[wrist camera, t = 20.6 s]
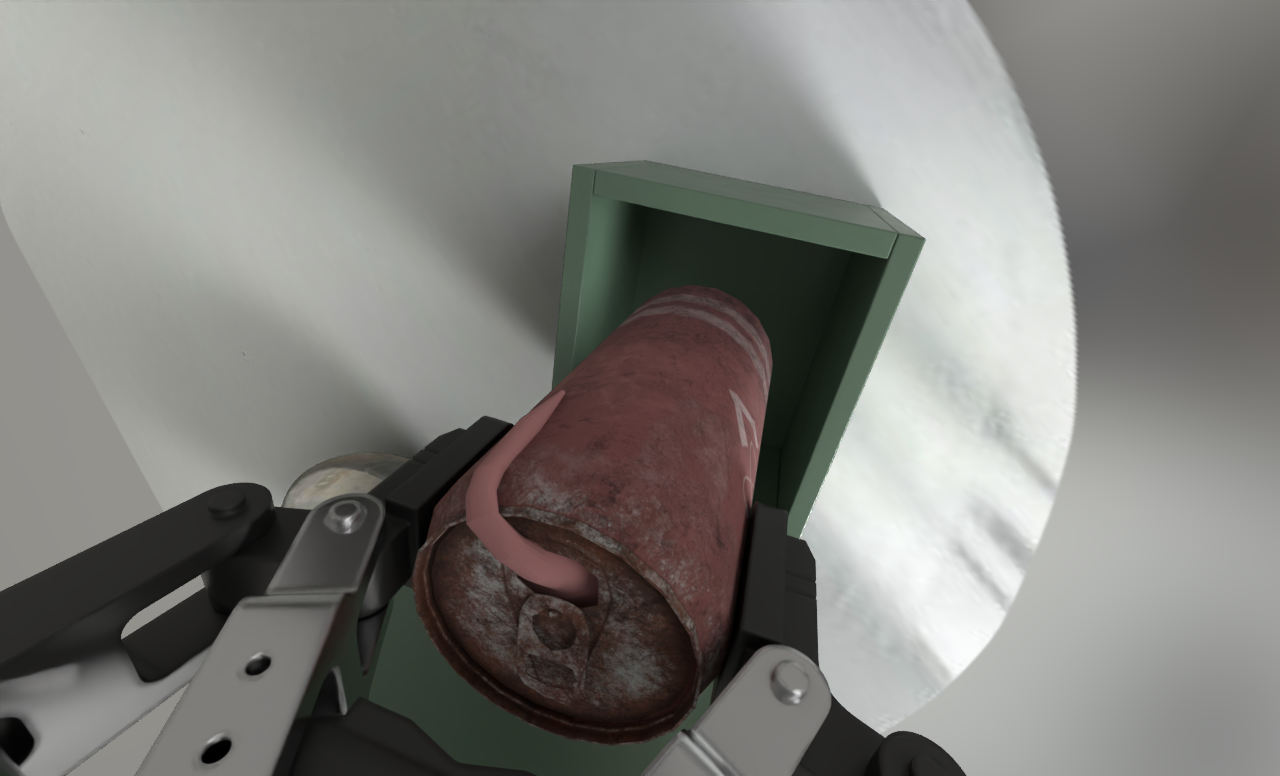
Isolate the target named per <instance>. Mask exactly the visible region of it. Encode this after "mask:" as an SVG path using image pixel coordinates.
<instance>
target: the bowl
mask: <svg viewBox="0 0 1280 776" xmlns="http://www.w3.org/2000/svg"><path fill="white" fill-rule="evenodd" d="M408 460H412V459H409V458H405V457H401V456H397V455H391V454H384V453H374V452H368V453H354V454H349V455H344V456H339V457H336V458H333V459H329V460H327V461H324V462H322V463H319V464H317V465H315V466H314V467H312V468H310V469H309V470H307V471H306V472H304V473H303V474H302V475H300V476H299V477H298V479H297V480H295V481H294V483H293V484H292V486H291V487H290V489H289V490H288V492H287V494H286V496H285V498H284V501H283V504H282V507H284V508H297V509H310V510H313V509H314V508H315V507H316V506H317V505H319V504H320V503H322V502H324V501H325V500H328V499H330V498H332V497H335V496H339V495H343V494H349V493H363V494H367V493H368V492H369V491H371V490H372V489H373V488H374V487H376V486H377V485H378V484H379V483H381V482H382V481H383V480H384V479H386V478H387V477H388V476H390V475H391V474H392V473H393V472H395V471H396V470H397V469H398V468H400V467H401V466H402V465H403V464H405V463H406V462H407V461H408Z"/></svg>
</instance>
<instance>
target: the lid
mask: <svg viewBox="0 0 1280 776" xmlns="http://www.w3.org/2000/svg"><path fill="white" fill-rule="evenodd" d="M393 599H394V605H393V610H392V613H391V617H390V620H389V624H388V627H387V631H386V634H385V638H384V641H383V645H382V648H381V652H380V655H379V659H378V662H377V666H376V669H375V673H374V676H373V680H372V683H371V687H370V692H369V699H368V700H369V701H371V702H373V703H376V704H378V705H380V706H382V707H385V708H387V709H389V710H391V711H394V712H396V713H398V714H400V715H403V716H405V717H407V718H409V719H411V720H413V721H414V722H415V723H416V724H417V725H418V726H419V727H420V728H421V729H422V730H423V731H424V732H425V733H426V734H427V735H428V736H429V737H430V738H432V739H433V740H434V741H435V742H436V743H437V744H438V745H439V746H440V747H441V748H442V749H443V750H444V751H445V752H446V753H447V754H448V755H449V756H451V757H452V758H453V759H454V760H455V761H457V762H460V763H464V764H472V765H481V766H490V767H498V768H507V769H516V770H524V771H528V772H530V773H532V774H535V775H537V776H640V775H641V774H642V773H643V771H644V770H645V769H646V768H647V767H648V766H649V764H650V763H651V762H652V761H653V760H654V759H655V758H656V756H657V755H658V754H659V753H660V752H661V751H662V749H663V748H664V747H665V746H666V745H667V744H668V742H669V741H670V740H671V739H672V738H673V737H674V736H675V735H676V734H677V733H678V732H679V731H681V730H682V729H686V730H687V731H688V730H689V729H691V728H692V727H693V726H694V725H695V723H696V722H697V721H698V720H699V719H700V718H701V716H702V715H703V714H704V713H705V712H706V710H707V709H708V708H709V707H710V701H711V695H712V689H713V683H714V680H713V681H712V682H711V683H710V685H709V686H708V687H707V688H706V689H705V690H704V691H703V692H702V694H701V695H700V696H699V697H698V700H697V705H696V708H695V709H694V710H693V711H692V712H691V714H690V715H689V716H688V717H687V718H686V719H685V720H684V721H683V722H682V724H681V725H680V726H679V727H678V728H677V729H676V730H675V731H673V732H671V733H668V734H666V735H663V736H661V737H659V738H656V739H654V740H651V741H649V742H647V743H643V744H629V745H614V746H605V745H599V744H593V743H587V742H581V741H576V740H570V739H566V738H563V737H561V736H558V735H555V734H553V733H550V732H547V731H545V730H542V729H539V728H537V727H534V726H531V725H529V724H527V723H525V722H523V721H522V720H520V719H518V718H516V717H515V716H513V715H511V714H510V713H508V712H506V711H504V710H503V709H501V708H499V707H498V706H496V705H494V704H492V703H491V702H490V701H488V700H487V699H486V698H485V697H484V696H482V695H481V694H480V693H479V692H478V691H476V690H475V689H474V688H473V687H472V686H470V685H469V684H468V683H467V682H466V681H464V680H463V679H462V678H461V677H460V676H459V675H458V674H457V673H456V672H455V671H454V669H453V668H452V667H451V666H450V665H449V663H448V662H447V661H446V660H445V658H444V657H443V656H442V655H441V654H440V652H439V651H438V650H437V649H436V648H435V646H434V645H433V643H432V641H431V639H430V637H429V635H428V633H427V631H426V629H425V628H424V626H423V624H422V622H421V620H420V618H419V616H418V614H417V610H416V605H415V599H414V593H413V589H412V588H410V587H407V586H405V585H403V586H402V587H401V589H400V590H399V591H398V592H397V593H396V594H395V595H394V596H393Z"/></svg>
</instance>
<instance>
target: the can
mask: <svg viewBox="0 0 1280 776" xmlns="http://www.w3.org/2000/svg"><path fill="white" fill-rule="evenodd" d="M772 365H773V362H772V355H771V347H770V340H769V338H768V336H767V334H766V332H765V330H764V329H763V327H762V325H761V323H760V321H759V319H758V317H756V316H755V315H754V314H753V313H752V312H751V311H750V310H749V309H748V308H747V307H746V306H745V305H744V304H743V303H742V302H741V301H740V300H738V299H736V298H734V297H732V296H730V295H728V294H726V293H724V292H722V291H720V290H718V289H716V288H709V287H703V286H696V285H687V286H681V287H675V288H669V289H666V290H664V291H662V292H660V293H658V294H657V295H655V296H653V297H651V298H649V299H647V300H646V301H645V302H644V303H643V304H642V305H641V306H640V307H639V308H637V309H636V310H635V311H634V312H633V313H632V314H631V315H630V316H629V317H628V318H627V319H626V320H625V321H624V322H623V323H622V324H621V325H620V326H619V327H618V328H617V329H616V330H614V331H613V332H612V333H611V334H610V335H609V336H608V337H607V338H606V339H605V340H604V341H603V342H602V343H601V344H600V345H599V346H598V347H597V348H596V349H595V350H594V351H593V352H591V353H590V354H589V355H588V356H587V357H586V358H585V359H584V360H583V361H582V362H581V363H580V364H579V365H578V366H577V367H576V368H575V369H574V370H573V371H572V372H571V373H570V374H568V375H567V376H566V377H565V378H564V379H563V380H562V381H561V382H560V383H559V384H558V385H557V386H556V387H555V388H554V389H553V390H552V391H551V392H550V393H549V394H548V395H547V396H545V397H544V398H543V399H542V400H541V401H540V402H539V403H538V404H537V405H536V406H535V407H534V408H533V409H532V410H531V411H530V412H529V413H528V414H527V415H525V416H524V417H522V418H521V419H520V420H519V421H518V422H517V423H516V424H515V425H514V427H513V428H512V429H511V430H510V431H509V432H508V433H507V434H506V435H505V436H504V437H503V438H502V439H500V440H499V441H498V442H497V443H496V444H495V445H494V446H493V447H492V448H491V449H490V450H489V451H488V452H487V453H486V454H485V455H484V456H483V457H482V458H481V459H480V460H479V461H477V462H476V463H475V464H474V465H473V466H472V467H471V468H470V469H469V470H468V471H467V472H466V473H465V474H464V475H463V476H462V477H461V478H460V479H459V480H458V481H457V482H456V483H455V484H454V485H453V486H452V487H451V489H450V490H449V491H448V492H447V493H446V494H445V496H444V497H443V498H442V499H441V500H440V501H439V502H438V504H437V505H436V506H435V507H434V511H433V515H432V519H431V523H430V527H429V531H428V535H427V539H426V543H425V544H424V545H423V546H422V547H421V548H420V549H419V550H418V554H417V558H416V563H415V567H414V571H413V575H412V579H411V581H412V587H413V593H414V599H415V605H416V610H417V614H418V616H419V618H420V620H421V622H422V624H423V626H424V628H425V629H426V631H427V633H428V635H429V637H430V639H431V641H432V643H433V645H434V646H435V648H436V649H437V650H438V651H439V652H440V654H441V655H442V656H443V657H444V658H445V660H446V661H447V662H448V663H449V665H450V666H451V667H452V668H453V669H454V671H455V672H456V673H457V674H458V675H459V676H460V677H461V678H462V679H463V680H464V681H466V682H467V683H468V684H469V685H470V686H472V687H473V688H474V689H475V690H476V691H478V692H479V693H480V694H481V695H482V696H484V697H485V698H486V699H487V700H488V701H490V702H491V703H492V704H494V705H496V706H498V707H499V708H501V709H503V710H504V711H506V712H508V713H510V714H511V715H513V716H515V717H516V718H518V719H520V720H522V721H523V722H525V723H527V724H529V725H531V726H534V727H537V728H539V729H542V730H545V731H547V732H550V733H553V734H555V735H558V736H561V737H563V738H566V739H570V740H576V741H581V742H587V743H593V744H599V745H605V746H614V745H629V744H643V743H647V742H649V741H651V740H654V739H656V738H659V737H661V736H663V735H666V734H668V733H671V732H673V731H675V730H676V729H677V728H678V727H679V726H680V725H681V724H682V722H683V721H684V720H685V719H686V718H687V717H688V716H689V715H690V714H691V712H692V711H693V710H694V709H695V708H696V705H697V700H698V697H699V696H700V695H701V694H702V692H703V691H704V690H705V689H706V688H707V687H708V686H709V685H710V683H711V682H712V681H713V680H714V679H715V678H716V677H717V675H718V674H719V673H720V672H721V670H722V667H723V664H724V661H725V658H726V655H727V652H728V648H729V644H730V640H731V636H732V631H733V625H734V618H735V611H736V605H737V598H738V591H739V585H740V578H741V571H742V565H743V558H744V551H745V545H746V538H747V532H748V525H749V518H750V512H751V505H752V498H753V492H754V485H755V478H756V472H757V465H758V458H759V452H760V445H761V439H762V432H763V425H764V419H765V412H766V405H767V399H768V392H769V385H770V379H771V372H772Z"/></svg>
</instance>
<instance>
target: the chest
mask: <svg viewBox="0 0 1280 776" xmlns="http://www.w3.org/2000/svg"><path fill="white" fill-rule="evenodd" d="M925 241H926V239H925V238H924V237H922V236H921V235H919V234H918V233H917V232H915V231H914V230H913V229H911V228H910V227H908V226H907V225H906V224H904V223H903V222H901V221H900V220H899V219H897V218H896V217H894V216H893V215H892V214H890V213H889V212H888V211H886V210H885V209H883V208H879V207H874V206H869V205H864V204H859V203H854V202H849V201H844V200H839V199H834V198H829V197H824V196H819V195H814V194H809V193H804V192H799V191H794V190H789V189H784V188H779V187H775V186H770V185H765V184H760V183H755V182H750V181H745V180H740V179H735V178H730V177H725V176H720V175H715V174H710V173H705V172H700V171H695V170H690V169H685V168H680V167H675V166H671V165H666V164H661V163H656V162H651V161H628V162H611V163H595V164H579V165H573V171H572V182H571V192H570V203H569V213H568V224H567V234H566V245H565V255H564V266H563V276H562V287H561V297H560V308H559V318H558V329H557V339H556V350H555V360H554V371H553V381H552V390H553V389H554V388H555V387H556V386H557V385H558V384H559V383H560V382H561V381H562V380H563V379H564V378H565V377H566V376H567V375H568V374H570V373H571V372H572V371H573V370H574V369H575V368H576V367H577V366H578V365H579V364H580V363H581V362H582V361H583V360H584V359H585V358H586V357H587V356H588V355H589V354H590V353H591V352H593V351H594V350H595V349H596V348H597V347H598V346H599V345H600V344H601V343H602V342H603V341H604V340H605V339H606V338H607V337H608V336H609V335H610V334H611V333H612V332H613V331H614V330H616V329H617V328H618V327H619V326H620V325H621V324H622V323H623V322H624V321H625V320H626V319H627V318H628V317H629V316H630V315H631V314H632V313H633V312H634V311H635V310H636V309H637V308H639V307H640V306H641V305H642V304H643V303H644V302H645V301H646V300H647V299H649V298H651V297H653V296H655V295H657V294H658V293H660V292H662V291H664V290H666V289H669V288H675V287H681V286H687V285H696V286H703V287H709V288H716V289H718V290H720V291H722V292H724V293H726V294H728V295H730V296H732V297H734V298H736V299H738V300H740V301H741V302H742V303H743V304H744V305H745V306H746V307H747V308H748V309H749V310H750V311H751V312H752V313H753V314H754V315H755V316H756V317H758V319H759V321H760V323H761V325H762V327H763V329H764V330H765V332H766V334H767V336H768V338H769V340H770V347H771V355H772V362H773V365H772V372H771V379H770V385H769V392H768V399H767V405H766V412H765V419H764V425H763V432H762V439H761V445H760V452H759V458H758V465H757V472H756V478H755V485H754V492H753V498H752V505H751V512H752V509H753V507H754V504H755V502H759V503H762V504H766V505H769V506H772V507H775V508H778V509H781V510H785V511H787V512H788V525H787V535H789V536H792V537H795V538H798V539H800V538H801V535H802V533H803V531H804V528H805V526H806V523H807V521H808V519H809V516H810V514H811V512H812V509H813V507H814V504H815V502H816V500H817V497H818V495H819V493H820V490H821V488H822V485H823V483H824V481H825V478H826V476H827V474H828V471H829V469H830V466H831V464H832V462H833V459H834V457H835V455H836V452H837V450H838V447H839V445H840V443H841V440H842V438H843V436H844V433H845V431H846V428H847V426H848V424H849V421H850V419H851V417H852V414H853V412H854V409H855V407H856V405H857V402H858V400H859V398H860V395H861V393H862V391H863V388H864V386H865V383H866V381H867V379H868V376H869V374H870V372H871V369H872V367H873V364H874V362H875V360H876V357H877V355H878V353H879V350H880V348H881V345H882V343H883V341H884V338H885V336H886V334H887V331H888V329H889V326H890V324H891V322H892V319H893V317H894V315H895V312H896V310H897V307H898V305H899V303H900V300H901V298H902V296H903V293H904V291H905V288H906V286H907V284H908V281H909V279H910V277H911V274H912V272H913V269H914V267H915V265H916V262H917V260H918V258H919V255H920V253H921V250H922V248H923V246H924V243H925ZM751 512H750V515H751Z"/></svg>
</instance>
